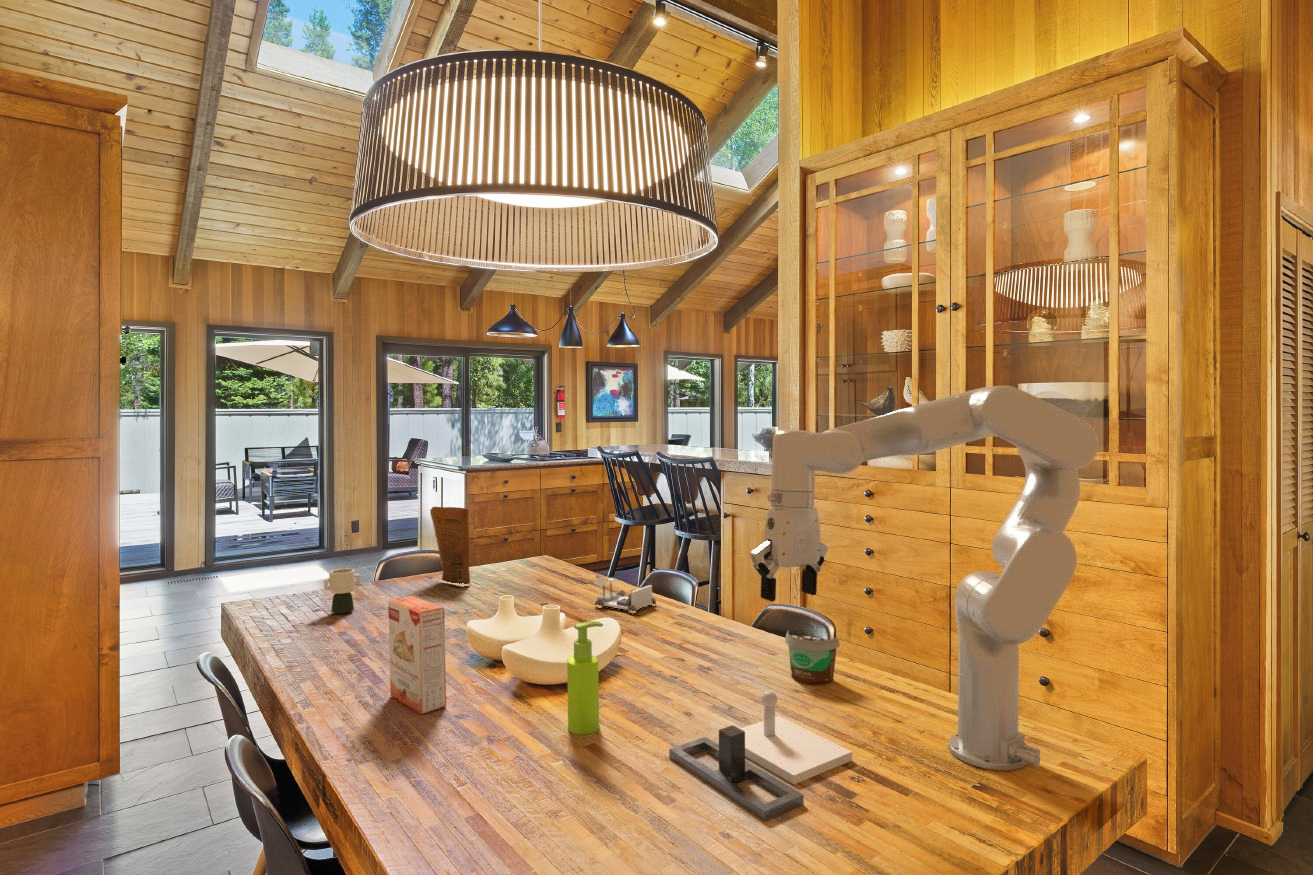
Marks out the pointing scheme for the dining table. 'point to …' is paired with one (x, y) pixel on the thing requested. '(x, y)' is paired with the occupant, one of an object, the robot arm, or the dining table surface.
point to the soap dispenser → (583, 684)
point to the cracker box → (417, 653)
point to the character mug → (342, 589)
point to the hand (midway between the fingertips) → (788, 596)
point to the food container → (812, 658)
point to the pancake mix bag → (452, 542)
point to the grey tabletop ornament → (618, 600)
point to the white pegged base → (790, 746)
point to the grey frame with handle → (736, 773)
